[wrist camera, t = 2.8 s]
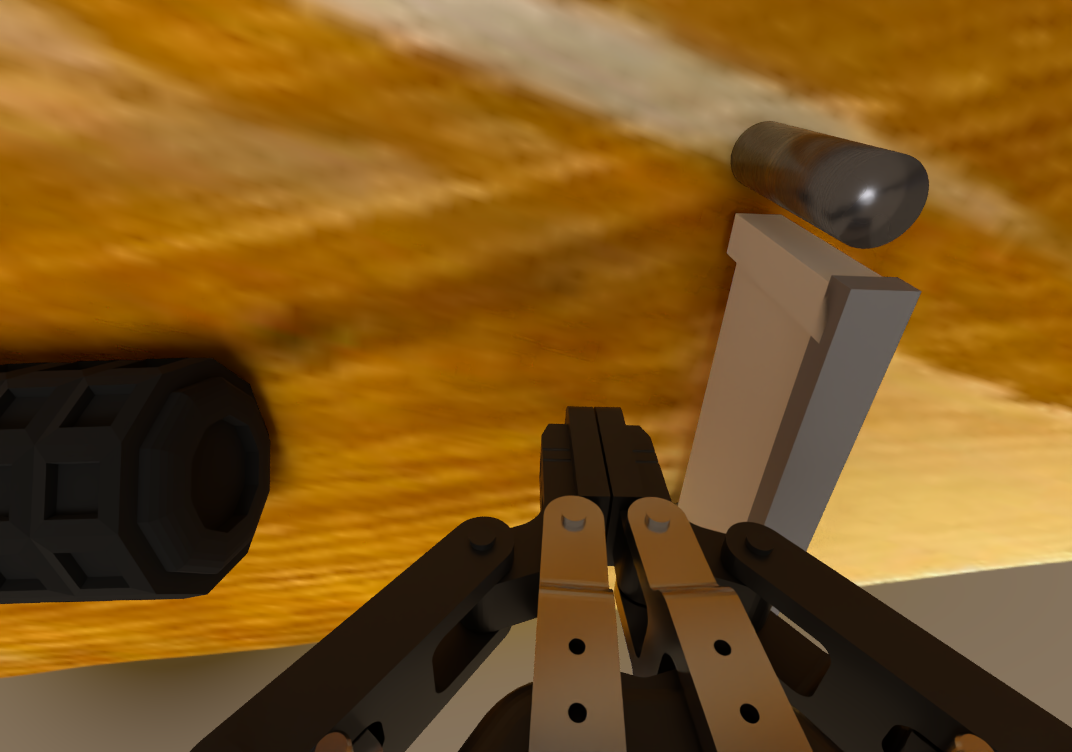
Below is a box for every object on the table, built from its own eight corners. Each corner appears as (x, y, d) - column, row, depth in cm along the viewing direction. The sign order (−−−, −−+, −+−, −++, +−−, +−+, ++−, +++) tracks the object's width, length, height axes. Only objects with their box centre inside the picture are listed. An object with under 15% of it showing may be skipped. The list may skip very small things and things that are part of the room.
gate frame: (809, 122, 20) (1062, 178, 10) (690, 552, 32) (756, 757, 23) (730, 119, 20) (914, 172, 10) (641, 552, 32) (687, 756, 23)
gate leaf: (696, 522, 29) (751, 674, 22) (664, 521, 29) (708, 674, 22) (782, 209, 20) (921, 291, 13) (737, 207, 20) (850, 289, 13)
